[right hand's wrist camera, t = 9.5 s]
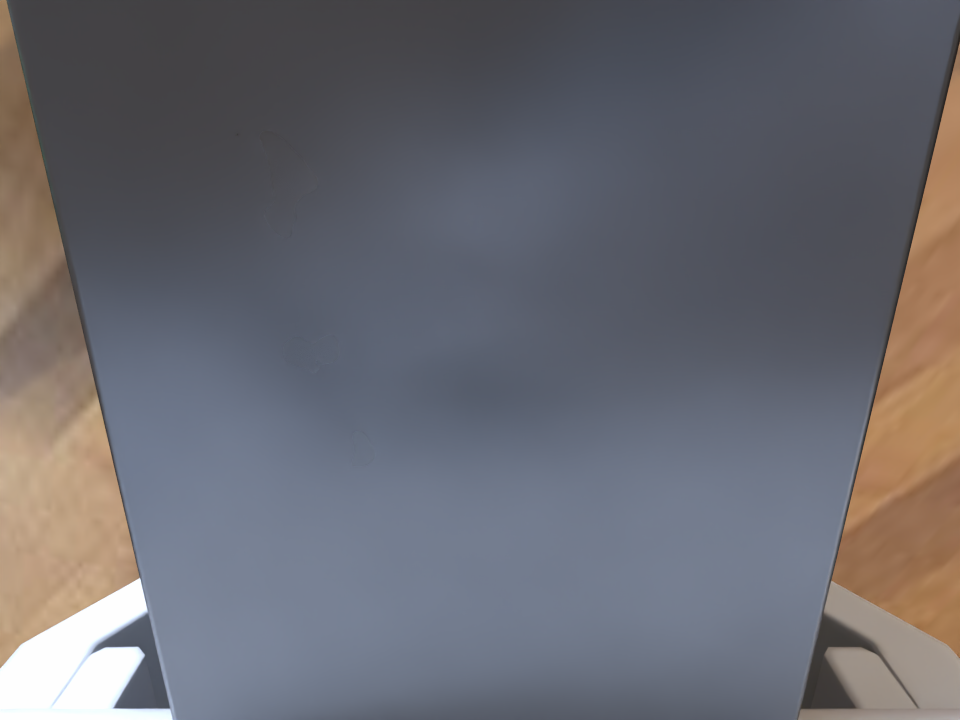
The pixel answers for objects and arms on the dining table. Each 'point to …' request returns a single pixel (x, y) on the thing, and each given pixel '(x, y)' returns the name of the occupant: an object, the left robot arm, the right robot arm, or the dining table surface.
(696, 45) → the bar
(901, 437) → the dining table surface
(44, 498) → the dining table surface
